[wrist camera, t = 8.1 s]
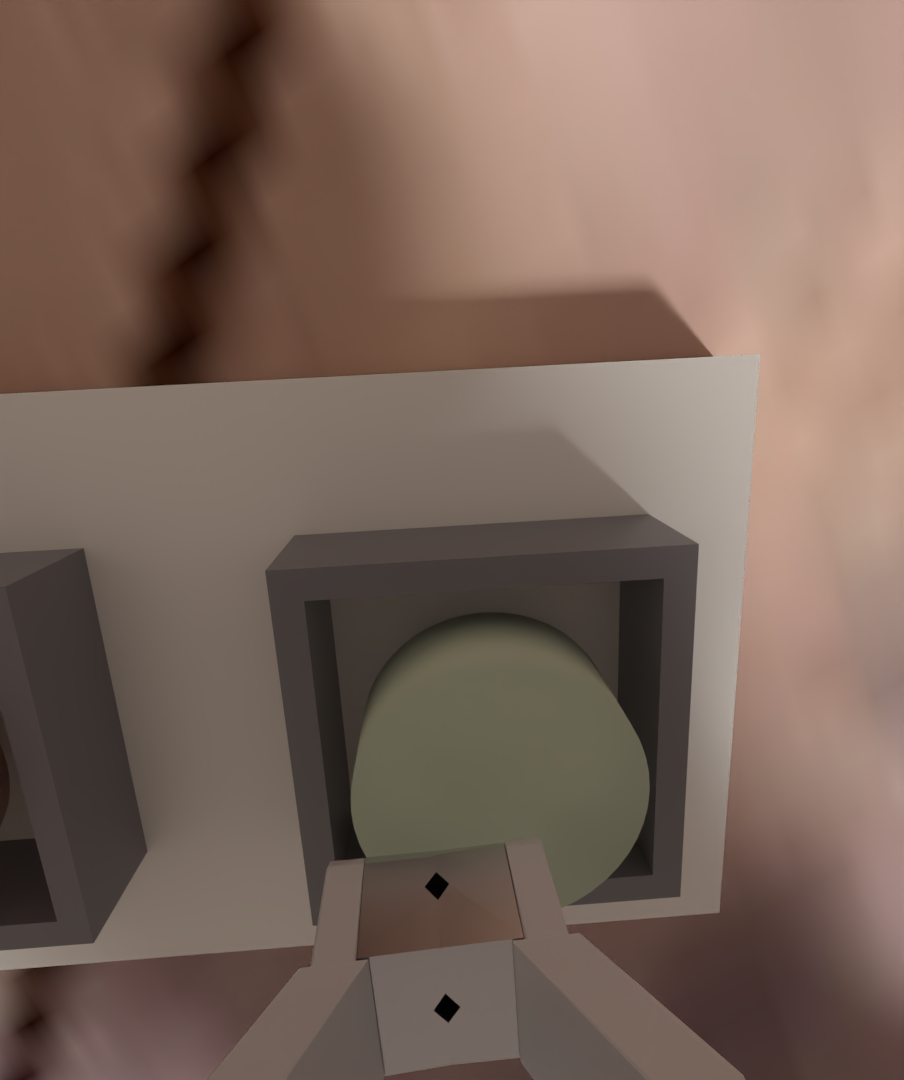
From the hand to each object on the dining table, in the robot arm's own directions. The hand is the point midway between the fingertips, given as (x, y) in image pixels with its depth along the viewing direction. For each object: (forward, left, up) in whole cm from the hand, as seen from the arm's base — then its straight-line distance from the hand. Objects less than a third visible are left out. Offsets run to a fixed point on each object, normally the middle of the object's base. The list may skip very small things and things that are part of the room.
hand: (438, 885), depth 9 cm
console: (+11, 0, -8) cm, 13 cm away
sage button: (-1, 0, -4) cm, 4 cm away
